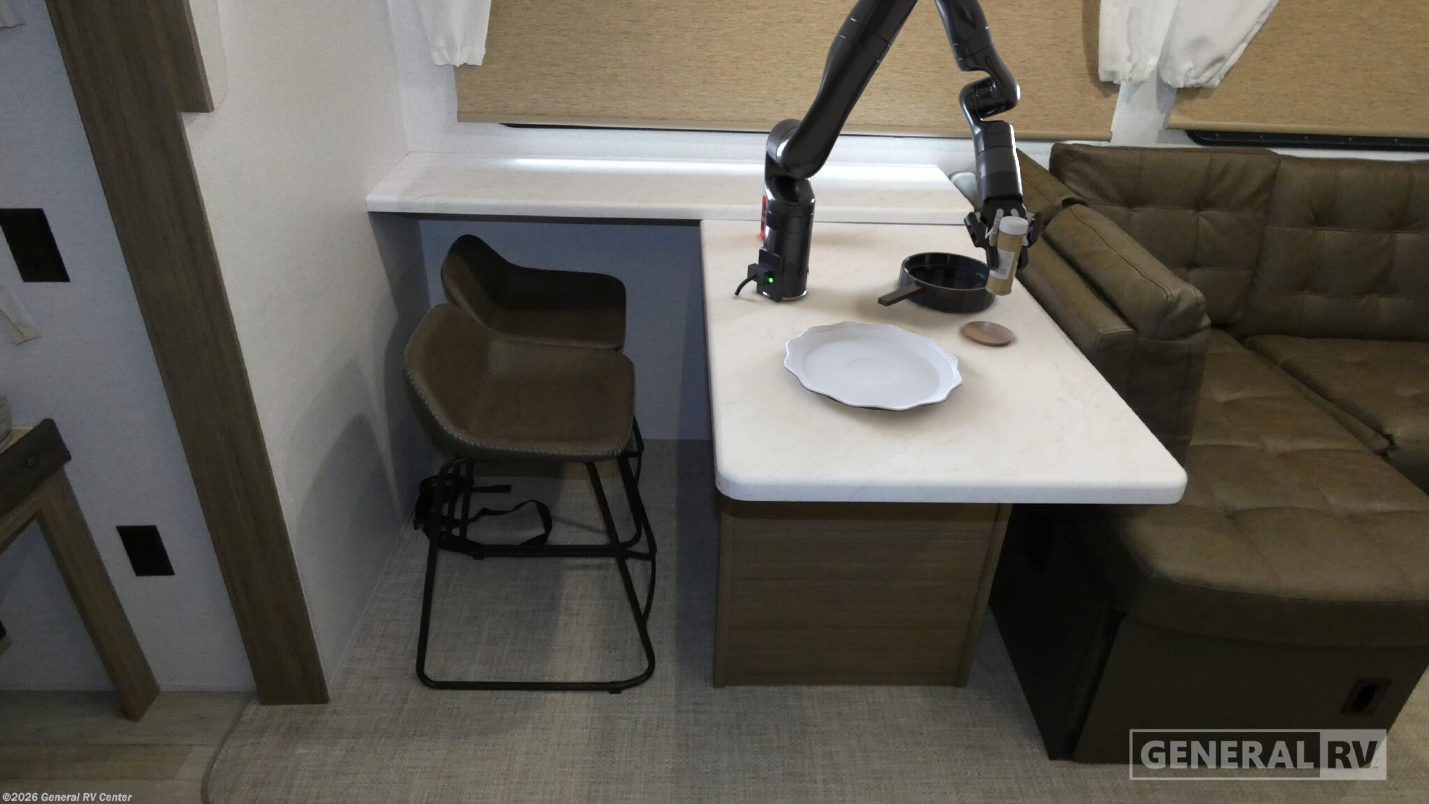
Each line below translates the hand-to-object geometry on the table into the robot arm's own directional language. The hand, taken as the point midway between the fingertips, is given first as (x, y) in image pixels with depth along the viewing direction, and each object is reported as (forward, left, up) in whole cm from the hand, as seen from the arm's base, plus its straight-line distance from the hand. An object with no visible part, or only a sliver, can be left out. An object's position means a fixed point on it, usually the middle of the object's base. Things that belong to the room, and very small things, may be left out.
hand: (1008, 268), depth 146 cm
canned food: (+3, +59, -14) cm, 61 cm away
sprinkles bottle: (+1, +2, -5) cm, 6 cm away
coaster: (+1, +1, -14) cm, 14 cm away
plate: (-28, +5, -14) cm, 32 cm away
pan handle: (-5, +17, -11) cm, 21 cm away
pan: (+10, +17, -14) cm, 24 cm away
